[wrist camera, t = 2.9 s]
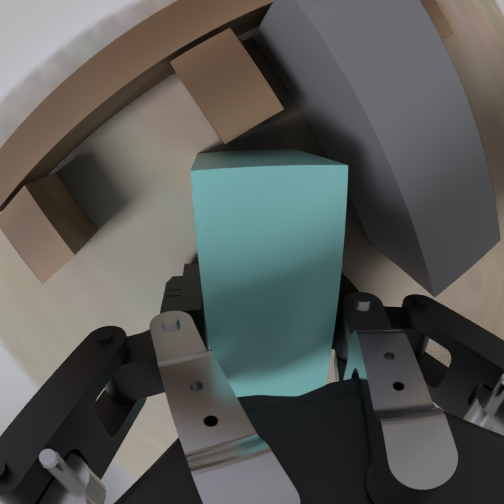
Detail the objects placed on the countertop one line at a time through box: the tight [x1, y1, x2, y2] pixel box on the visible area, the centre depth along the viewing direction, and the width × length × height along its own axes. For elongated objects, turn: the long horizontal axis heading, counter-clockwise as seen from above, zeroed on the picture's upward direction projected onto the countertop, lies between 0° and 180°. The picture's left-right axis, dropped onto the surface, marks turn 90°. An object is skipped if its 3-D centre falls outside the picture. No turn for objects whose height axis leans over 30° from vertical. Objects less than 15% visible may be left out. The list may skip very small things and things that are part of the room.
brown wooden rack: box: [0, 0, 453, 284], centre depth 9 cm, size 5×18×2 cm, turn 122°
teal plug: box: [191, 149, 348, 397], centre depth 11 cm, size 12×4×5 cm, turn 2°
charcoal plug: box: [253, 0, 500, 297], centre depth 9 cm, size 12×4×5 cm, turn 32°
